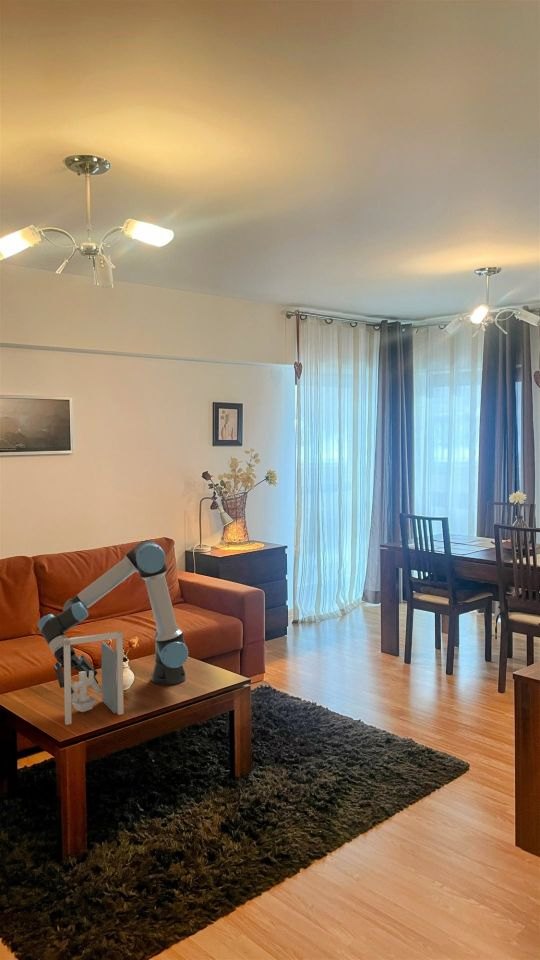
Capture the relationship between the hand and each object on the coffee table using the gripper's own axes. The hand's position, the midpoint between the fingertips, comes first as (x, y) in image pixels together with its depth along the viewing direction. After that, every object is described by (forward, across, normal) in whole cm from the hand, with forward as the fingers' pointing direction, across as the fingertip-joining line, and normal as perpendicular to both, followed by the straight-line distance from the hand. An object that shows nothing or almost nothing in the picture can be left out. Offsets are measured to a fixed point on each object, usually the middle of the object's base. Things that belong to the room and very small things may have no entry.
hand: (88, 696), depth 270 cm
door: (+6, -10, -3) cm, 12 cm away
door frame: (+9, +2, -1) cm, 9 cm away
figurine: (+2, 0, -6) cm, 7 cm away
